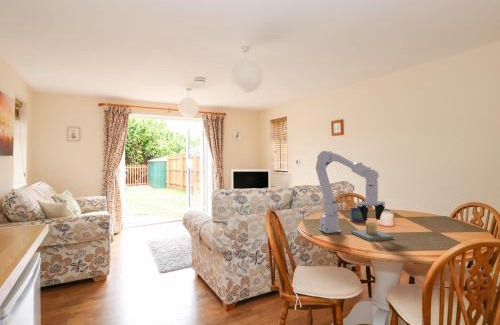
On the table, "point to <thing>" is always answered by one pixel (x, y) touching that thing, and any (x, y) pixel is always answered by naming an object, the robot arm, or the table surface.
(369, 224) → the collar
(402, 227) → the table surface
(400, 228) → the table surface
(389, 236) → the post block
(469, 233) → the table surface
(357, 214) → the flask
